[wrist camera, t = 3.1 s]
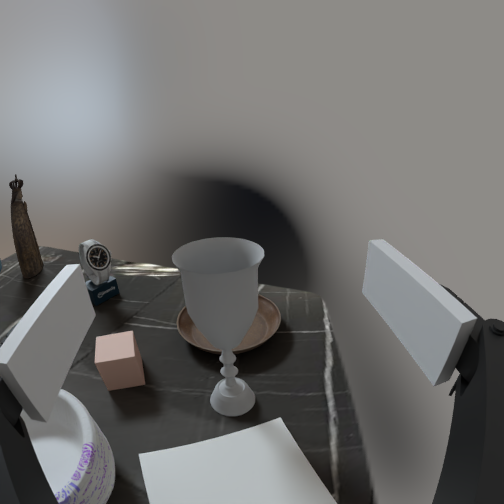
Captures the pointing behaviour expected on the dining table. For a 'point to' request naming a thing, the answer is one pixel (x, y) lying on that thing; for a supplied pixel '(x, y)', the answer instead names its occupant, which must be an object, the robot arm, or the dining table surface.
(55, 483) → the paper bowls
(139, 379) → the terracotta block
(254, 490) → the board
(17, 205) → the statue
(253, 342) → the saucer
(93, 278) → the watch
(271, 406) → the dining table surface
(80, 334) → the robot arm
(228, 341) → the chalice
